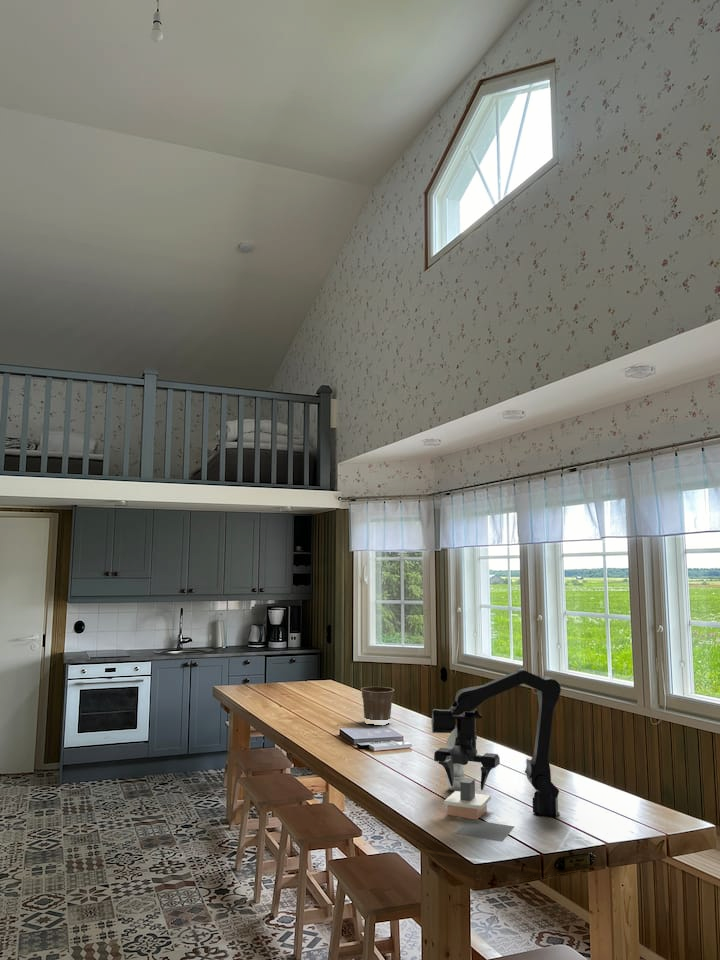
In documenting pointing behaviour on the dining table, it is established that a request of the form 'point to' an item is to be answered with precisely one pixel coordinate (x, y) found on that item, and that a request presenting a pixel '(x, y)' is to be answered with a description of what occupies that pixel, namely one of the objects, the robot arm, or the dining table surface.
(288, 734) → the dining table surface
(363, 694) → the plant pot
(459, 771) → the plastic bottle
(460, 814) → the orange open box
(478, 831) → the mat
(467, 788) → the lid
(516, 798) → the dining table surface
